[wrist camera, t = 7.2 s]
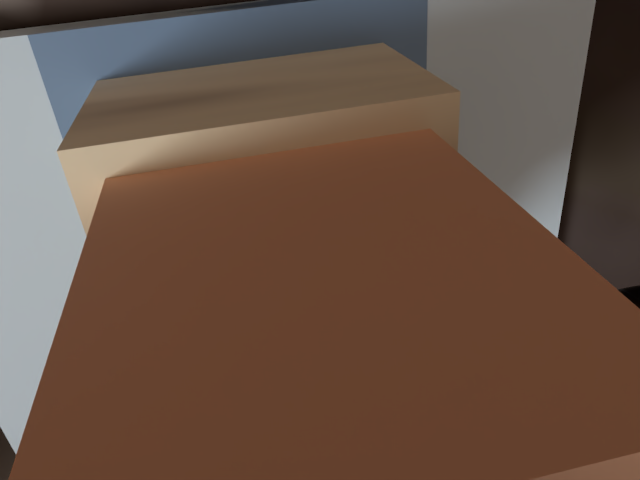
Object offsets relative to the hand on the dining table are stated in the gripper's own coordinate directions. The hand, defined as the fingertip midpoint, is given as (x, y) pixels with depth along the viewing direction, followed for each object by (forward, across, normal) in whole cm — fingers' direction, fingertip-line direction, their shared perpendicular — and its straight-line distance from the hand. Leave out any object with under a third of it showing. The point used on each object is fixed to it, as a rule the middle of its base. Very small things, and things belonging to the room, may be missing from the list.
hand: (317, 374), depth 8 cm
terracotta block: (+2, 0, 0) cm, 2 cm away
